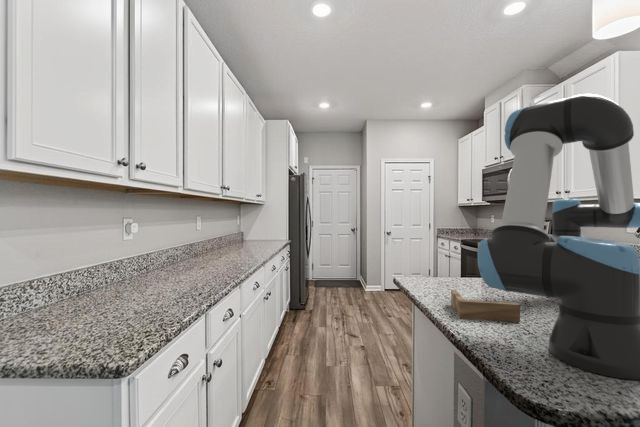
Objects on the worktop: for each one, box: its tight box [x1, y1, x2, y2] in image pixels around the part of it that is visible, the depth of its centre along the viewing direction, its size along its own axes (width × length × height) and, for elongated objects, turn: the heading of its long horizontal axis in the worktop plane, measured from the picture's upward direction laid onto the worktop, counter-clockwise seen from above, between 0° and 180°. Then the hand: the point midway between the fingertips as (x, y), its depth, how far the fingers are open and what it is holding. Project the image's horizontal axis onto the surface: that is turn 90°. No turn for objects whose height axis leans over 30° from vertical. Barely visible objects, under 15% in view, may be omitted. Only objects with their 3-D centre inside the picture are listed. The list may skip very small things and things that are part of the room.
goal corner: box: [450, 289, 521, 323], centre depth 88 cm, size 16×15×4 cm
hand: (490, 248), depth 93 cm, fingers closed on ceramic mug, 9 cm apart
